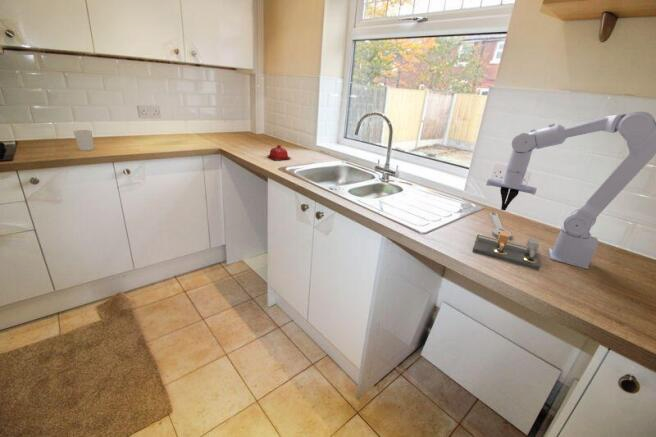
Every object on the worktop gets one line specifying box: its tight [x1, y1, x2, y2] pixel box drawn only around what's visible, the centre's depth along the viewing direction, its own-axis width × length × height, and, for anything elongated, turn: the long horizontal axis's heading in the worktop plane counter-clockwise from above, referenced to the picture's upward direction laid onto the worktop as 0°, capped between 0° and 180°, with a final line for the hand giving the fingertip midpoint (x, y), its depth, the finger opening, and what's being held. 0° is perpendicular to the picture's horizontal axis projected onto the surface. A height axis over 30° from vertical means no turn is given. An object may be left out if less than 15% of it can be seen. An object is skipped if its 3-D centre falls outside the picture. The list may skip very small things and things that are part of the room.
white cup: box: [73, 129, 95, 152], centre depth 174 cm, size 8×8×10 cm
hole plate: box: [472, 234, 541, 271], centre depth 98 cm, size 18×12×5 cm, turn 60°
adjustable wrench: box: [489, 211, 513, 240], centre depth 119 cm, size 25×6×2 cm, turn 157°
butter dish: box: [266, 144, 292, 161], centre depth 190 cm, size 12×12×8 cm
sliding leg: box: [497, 230, 510, 251], centre depth 99 cm, size 2×8×4 cm, turn 150°
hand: (503, 209), depth 108 cm, fingers closed
